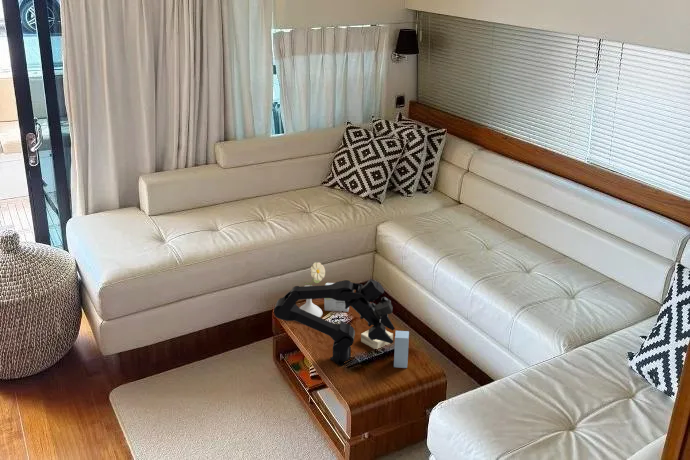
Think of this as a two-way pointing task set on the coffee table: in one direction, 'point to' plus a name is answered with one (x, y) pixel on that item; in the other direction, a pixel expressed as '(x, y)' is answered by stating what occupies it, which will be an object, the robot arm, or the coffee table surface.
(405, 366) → the blue pillar
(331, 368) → the coffee table surface
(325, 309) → the light bulb box
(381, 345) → the maple block
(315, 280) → the flower in vase
